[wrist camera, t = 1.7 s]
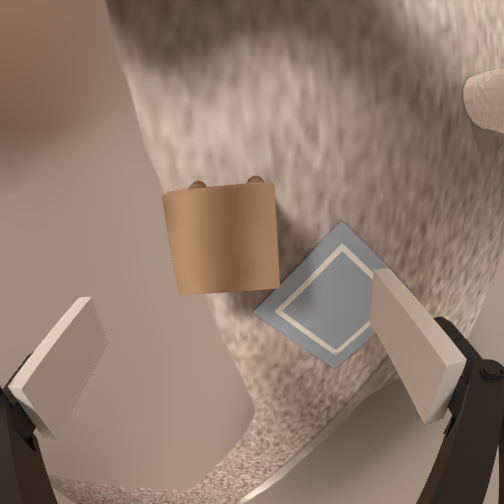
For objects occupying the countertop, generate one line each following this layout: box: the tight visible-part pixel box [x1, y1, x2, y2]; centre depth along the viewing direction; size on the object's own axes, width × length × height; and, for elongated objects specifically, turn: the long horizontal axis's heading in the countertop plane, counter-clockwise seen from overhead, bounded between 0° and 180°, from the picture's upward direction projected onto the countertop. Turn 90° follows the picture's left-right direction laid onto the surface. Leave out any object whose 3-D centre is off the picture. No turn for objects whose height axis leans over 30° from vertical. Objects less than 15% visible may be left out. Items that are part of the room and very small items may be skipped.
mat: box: [253, 220, 415, 369], centre depth 35 cm, size 14×14×1 cm
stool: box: [162, 176, 280, 295], centre depth 27 cm, size 8×8×9 cm
